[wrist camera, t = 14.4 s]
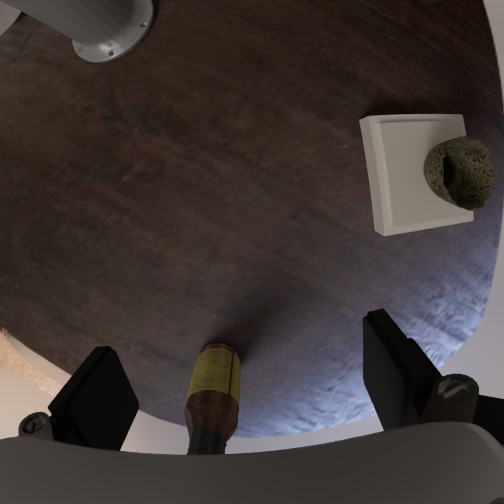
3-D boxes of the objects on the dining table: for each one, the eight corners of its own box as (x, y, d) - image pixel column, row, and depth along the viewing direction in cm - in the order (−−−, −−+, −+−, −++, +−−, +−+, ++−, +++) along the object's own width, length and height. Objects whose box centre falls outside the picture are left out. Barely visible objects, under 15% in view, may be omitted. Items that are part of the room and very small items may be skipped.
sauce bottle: (189, 357, 43) (153, 462, 24) (218, 332, 42) (192, 441, 23) (222, 383, 44) (205, 491, 25) (252, 360, 43) (247, 472, 24)
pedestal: (359, 120, 34) (370, 115, 30) (449, 117, 33) (465, 114, 29) (374, 230, 38) (386, 237, 34) (459, 216, 37) (475, 221, 33)
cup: (460, 151, 31) (500, 151, 23) (449, 207, 33) (488, 219, 25) (412, 131, 30) (449, 124, 23) (401, 191, 32) (436, 199, 25)
